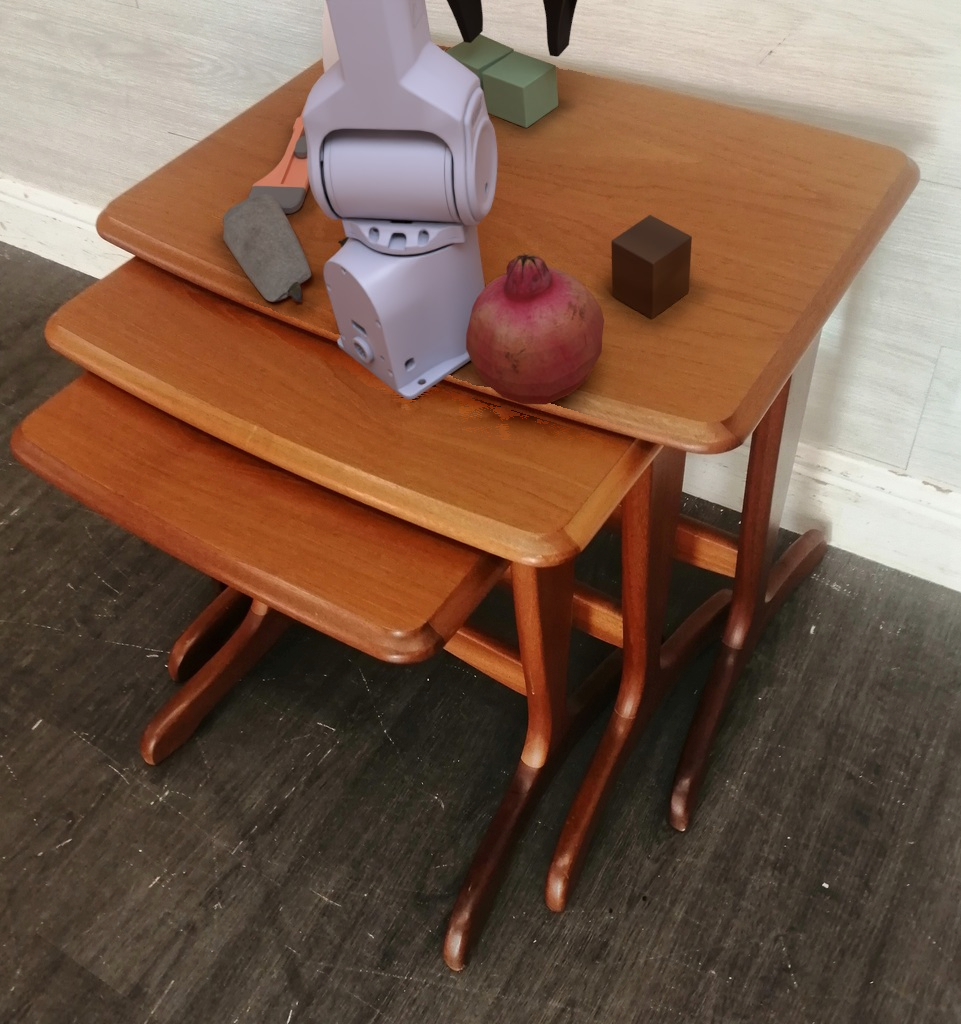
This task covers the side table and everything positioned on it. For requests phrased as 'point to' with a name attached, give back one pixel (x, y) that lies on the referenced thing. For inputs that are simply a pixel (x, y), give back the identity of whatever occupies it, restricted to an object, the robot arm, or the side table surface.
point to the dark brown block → (651, 266)
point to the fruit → (534, 332)
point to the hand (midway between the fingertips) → (515, 43)
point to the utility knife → (288, 174)
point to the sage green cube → (520, 89)
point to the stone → (265, 246)
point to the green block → (479, 54)
